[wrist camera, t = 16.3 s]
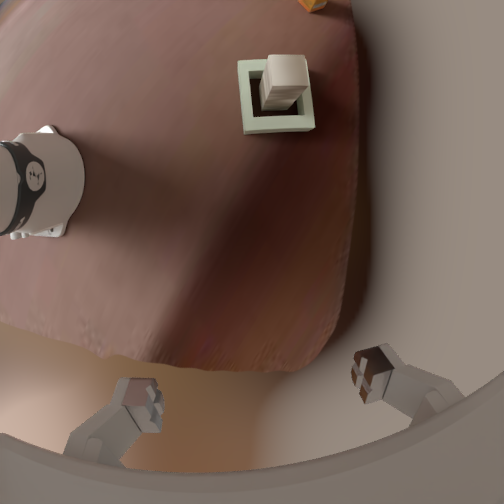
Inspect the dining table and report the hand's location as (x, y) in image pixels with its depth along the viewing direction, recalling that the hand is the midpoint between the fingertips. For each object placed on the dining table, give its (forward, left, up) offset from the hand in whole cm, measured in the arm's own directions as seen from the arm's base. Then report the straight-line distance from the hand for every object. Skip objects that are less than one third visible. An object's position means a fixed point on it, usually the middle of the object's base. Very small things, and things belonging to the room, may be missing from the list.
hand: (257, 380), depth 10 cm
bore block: (+6, +18, -30) cm, 35 cm away
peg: (+6, +18, -30) cm, 35 cm away
